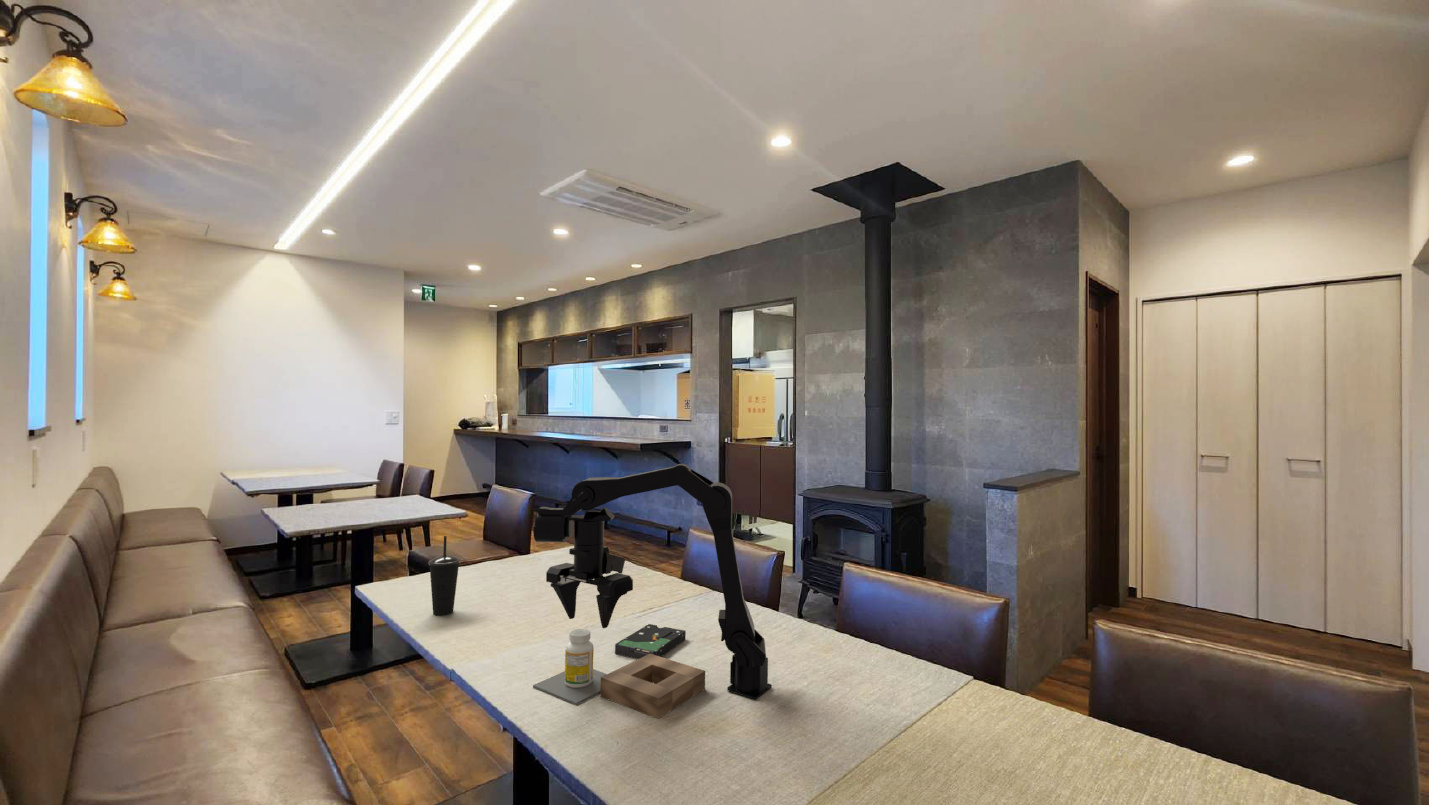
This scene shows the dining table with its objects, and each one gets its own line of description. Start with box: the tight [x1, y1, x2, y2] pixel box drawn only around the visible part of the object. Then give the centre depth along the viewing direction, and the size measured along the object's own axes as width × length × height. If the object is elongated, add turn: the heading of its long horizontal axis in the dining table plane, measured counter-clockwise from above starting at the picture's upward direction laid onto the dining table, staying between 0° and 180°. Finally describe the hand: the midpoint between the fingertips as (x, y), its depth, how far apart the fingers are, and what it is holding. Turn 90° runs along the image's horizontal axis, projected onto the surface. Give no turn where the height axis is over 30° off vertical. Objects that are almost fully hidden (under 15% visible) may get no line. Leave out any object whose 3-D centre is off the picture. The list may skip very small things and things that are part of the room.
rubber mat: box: [532, 668, 608, 706], centre depth 115 cm, size 12×12×1 cm
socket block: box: [599, 654, 706, 720], centre depth 112 cm, size 14×14×4 cm
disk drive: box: [614, 623, 687, 660], centre depth 135 cm, size 10×3×15 cm
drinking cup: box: [428, 535, 461, 617], centre depth 156 cm, size 8×8×20 cm
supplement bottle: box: [564, 628, 595, 688], centre depth 115 cm, size 5×5×10 cm
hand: (588, 623), depth 116 cm, fingers open, 9 cm apart
